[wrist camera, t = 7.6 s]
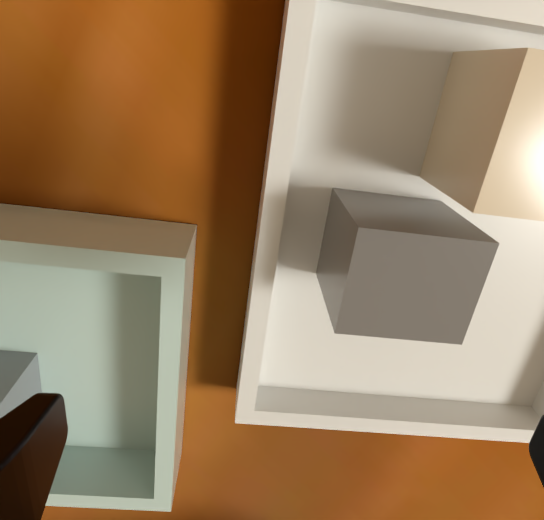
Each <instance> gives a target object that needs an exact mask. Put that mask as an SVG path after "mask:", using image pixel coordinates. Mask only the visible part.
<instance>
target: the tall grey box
mask: <svg viewBox="0 0 544 520" xmlns="http://www.w3.org/2000/svg"><path fill="white" fill-rule="evenodd" d="M37 393H42V388H41V379H40V370H39V361H38V353H32V352H19V351H6V350H0V418H1V417H3V416H4V415H6V414H7V413H8V412H10V411H11V410H13V409H14V408H16V407H17V406H18V405H20V404H21V403H23V402H24V401H26V400H27V399H29V398H30V397H31V396H33V395H35V394H37Z"/></svg>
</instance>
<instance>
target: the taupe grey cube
mask: <svg viewBox="0 0 544 520" xmlns="http://www.w3.org/2000/svg"><path fill="white" fill-rule="evenodd" d="M498 246H499V242H497V241H496V240H494V239H493V238H492V237H490V236H489V235H487V234H486V233H485V232H483V231H482V230H481V229H479V228H478V227H476V226H475V225H474V224H472V223H471V222H469V221H468V220H467V219H465V218H464V217H463V216H461V215H460V214H458V213H457V212H456V211H454V210H453V209H451V208H450V207H449V206H447V205H446V204H445V203H443V202H442V201H439V200H431V199H422V198H414V197H406V196H398V195H389V194H381V193H373V192H365V191H356V190H348V189H340V188H332V192H331V197H330V203H329V208H328V213H327V218H326V223H325V229H324V234H323V239H322V244H321V249H320V254H319V260H318V265H317V270H316V275H317V279H318V282H319V285H320V288H321V291H322V295H323V298H324V301H325V304H326V308H327V311H328V314H329V317H330V321H331V324H332V327H333V330H334V333H335V334H346V335H358V336H369V337H380V338H392V339H403V340H414V341H425V342H437V343H448V344H459V345H462V343H463V340H464V338H465V335H466V332H467V330H468V327H469V324H470V322H471V319H472V316H473V313H474V311H475V308H476V305H477V303H478V300H479V297H480V295H481V292H482V289H483V287H484V284H485V281H486V278H487V276H488V273H489V270H490V268H491V265H492V262H493V260H494V257H495V254H496V251H497V249H498Z"/></svg>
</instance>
